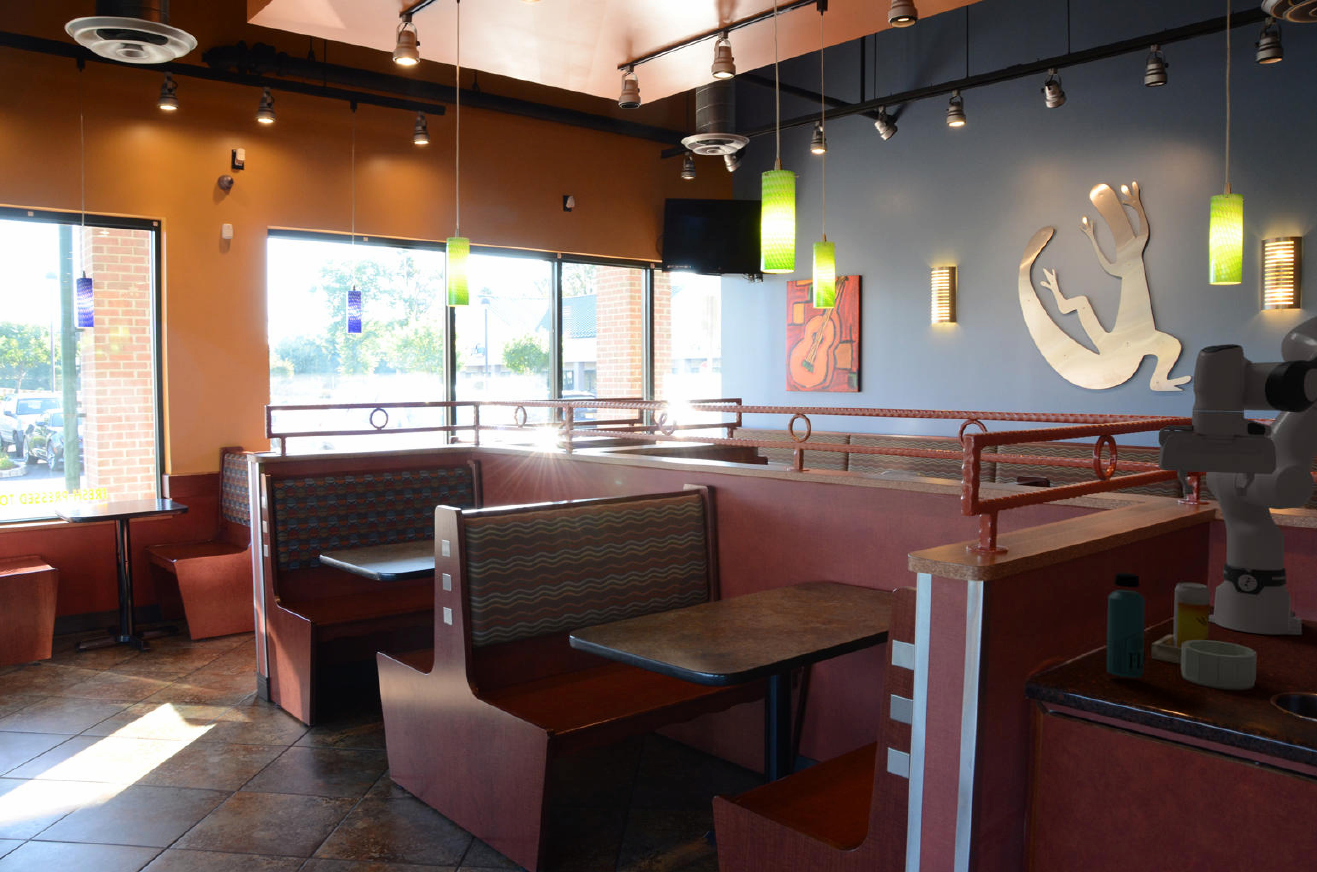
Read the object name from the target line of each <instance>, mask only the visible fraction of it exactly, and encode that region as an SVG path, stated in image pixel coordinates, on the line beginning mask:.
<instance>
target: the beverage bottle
mask: <svg viewBox="0 0 1317 872" xmlns="http://www.w3.org/2000/svg"><path fill="white" fill-rule="evenodd" d="M1113 583H1114V585H1115V586H1119V587H1126V588H1139V586H1140V578H1139V575H1138V574H1135V573H1130V572H1129V573H1128V572H1117V573H1115V576H1114V581H1113ZM1145 607H1146V598H1144V597H1143V595H1142V594H1140V593H1139V592H1138V591H1134V590H1127V589H1116V590H1114V591H1112V592H1111V593H1109V594H1108V596H1107V629H1106V640H1105V642H1106V644H1105V650H1106V653H1105V658H1106V661H1105V664H1106V667H1105V668H1106V670H1107V673H1109V674H1111V675H1114V676H1118V677H1122V678H1141V677H1143V675H1144V672H1145V666H1146V664H1145V662H1146V661H1145V660H1146V659H1145V658H1146V657H1145V656H1146V655H1145V654H1146V651H1145V632H1146V631H1145V629H1146V615H1145V613H1146V612H1145V610H1146V608H1145Z"/></svg>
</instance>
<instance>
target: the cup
mask: <svg viewBox="0 0 1317 872" xmlns="http://www.w3.org/2000/svg"><path fill="white" fill-rule="evenodd" d="M1257 654H1258V652H1256V651H1255V650H1254V649H1252V648H1250V647H1247V646H1244V645H1240V644H1237V643H1231V642H1227V641H1220V640H1209V639H1208V640H1190V641H1185V642H1184V643H1182V649H1181V664H1180V671H1181V676H1182V678H1183V679H1184V680H1186V681H1188V682H1190V683H1193V684H1196V685H1200V686H1204V687H1206V688H1207V687H1208V688H1212V689H1213V688H1214V689H1218V690H1219V689H1220V690H1227V691H1228V690H1229V691H1230V690H1232V691H1242V690H1251V689H1253V688H1254V687H1255V681H1256V680H1257V660H1258V659H1257V658H1258V657H1257Z"/></svg>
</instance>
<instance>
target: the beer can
mask: <svg viewBox="0 0 1317 872" xmlns="http://www.w3.org/2000/svg"><path fill="white" fill-rule="evenodd" d="M1210 594H1211V593H1210V591H1209V588H1208V586H1207V585H1205V584H1201V583H1197V582H1178V583H1177V584H1176V586H1175V588H1174V602H1173V603H1174V604H1173V605H1174V606H1173V610H1174V611H1173V634H1172V635H1173V646H1174V647H1180V648H1182V643H1184V642H1185V641H1190V640H1209V629H1210V628H1209V627H1210V626H1209V622H1210V621H1209V615H1210Z"/></svg>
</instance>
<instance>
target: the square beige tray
mask: <svg viewBox="0 0 1317 872" xmlns="http://www.w3.org/2000/svg"><path fill="white" fill-rule="evenodd" d="M1181 649H1182V648H1180V647H1174V646H1173V634H1171V633H1169V634H1167V635H1165V636H1164V637H1161V638H1159V639H1158V640H1156V641H1154V642H1152V643H1151V654H1150V655H1151V657H1150V658H1151V659H1152V660H1157V661H1163V662H1168V663H1174V664H1179V665H1181Z"/></svg>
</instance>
